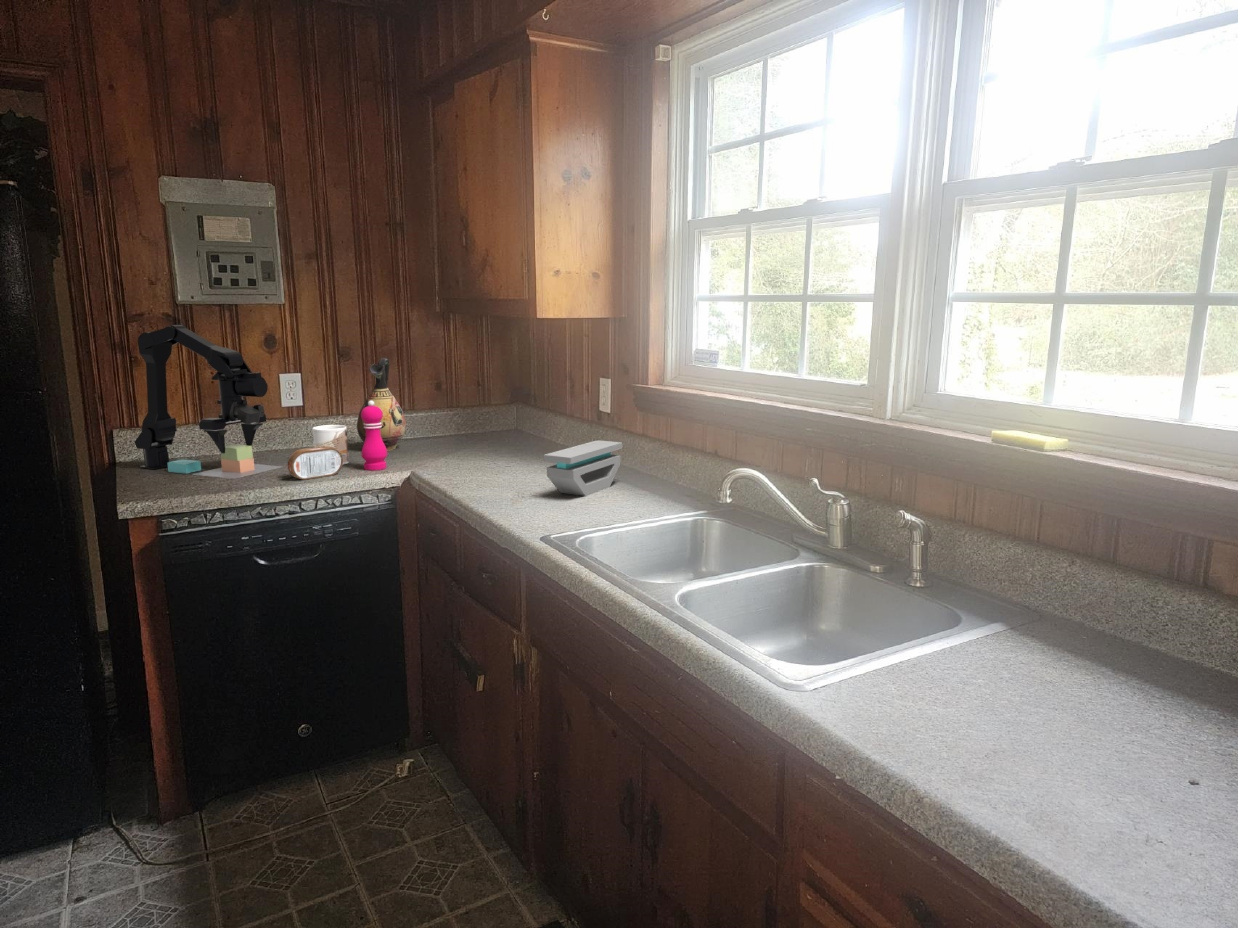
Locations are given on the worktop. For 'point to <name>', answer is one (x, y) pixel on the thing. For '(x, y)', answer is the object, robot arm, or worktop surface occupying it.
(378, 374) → the ceramic jug
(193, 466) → the teal brick
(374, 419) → the pepper mill
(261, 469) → the baseplate
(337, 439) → the mug
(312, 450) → the tin
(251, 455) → the olive brick
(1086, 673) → the worktop surface
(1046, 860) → the worktop surface
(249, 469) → the terracotta brick
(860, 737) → the worktop surface
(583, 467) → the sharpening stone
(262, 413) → the robot arm
